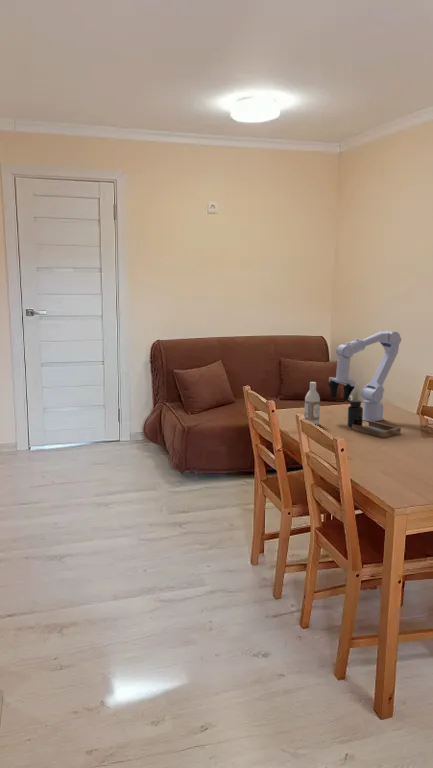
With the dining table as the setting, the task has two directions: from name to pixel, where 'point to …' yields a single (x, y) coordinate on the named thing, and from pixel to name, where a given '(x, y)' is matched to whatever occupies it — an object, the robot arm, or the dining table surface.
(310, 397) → the bath foam
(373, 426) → the tray
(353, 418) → the supplement bottle
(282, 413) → the dining table surface
